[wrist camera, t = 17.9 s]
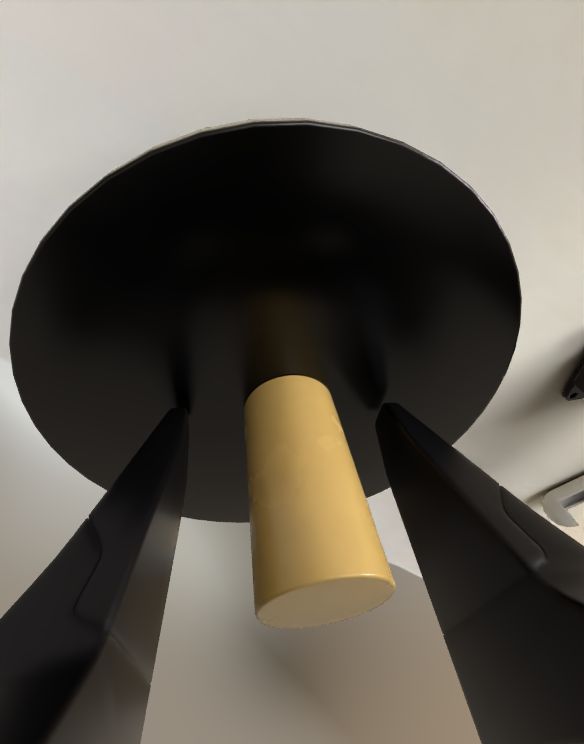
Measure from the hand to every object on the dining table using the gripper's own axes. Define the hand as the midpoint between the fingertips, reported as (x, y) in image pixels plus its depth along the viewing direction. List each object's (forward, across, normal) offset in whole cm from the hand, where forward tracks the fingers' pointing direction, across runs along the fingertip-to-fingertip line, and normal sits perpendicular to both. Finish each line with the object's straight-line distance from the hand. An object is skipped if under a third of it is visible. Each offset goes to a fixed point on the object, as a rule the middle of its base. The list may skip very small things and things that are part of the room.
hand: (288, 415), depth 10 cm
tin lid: (+1, 0, 0) cm, 1 cm away
